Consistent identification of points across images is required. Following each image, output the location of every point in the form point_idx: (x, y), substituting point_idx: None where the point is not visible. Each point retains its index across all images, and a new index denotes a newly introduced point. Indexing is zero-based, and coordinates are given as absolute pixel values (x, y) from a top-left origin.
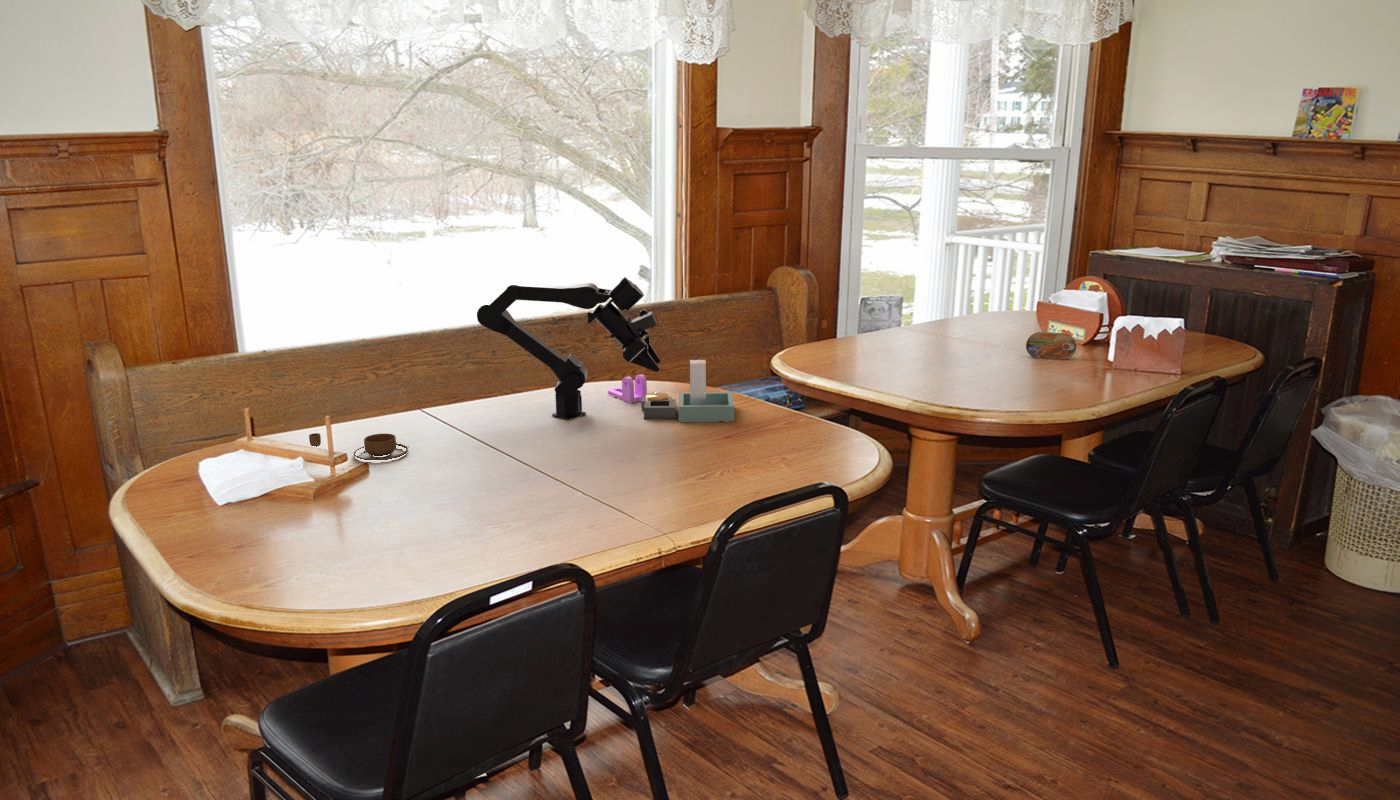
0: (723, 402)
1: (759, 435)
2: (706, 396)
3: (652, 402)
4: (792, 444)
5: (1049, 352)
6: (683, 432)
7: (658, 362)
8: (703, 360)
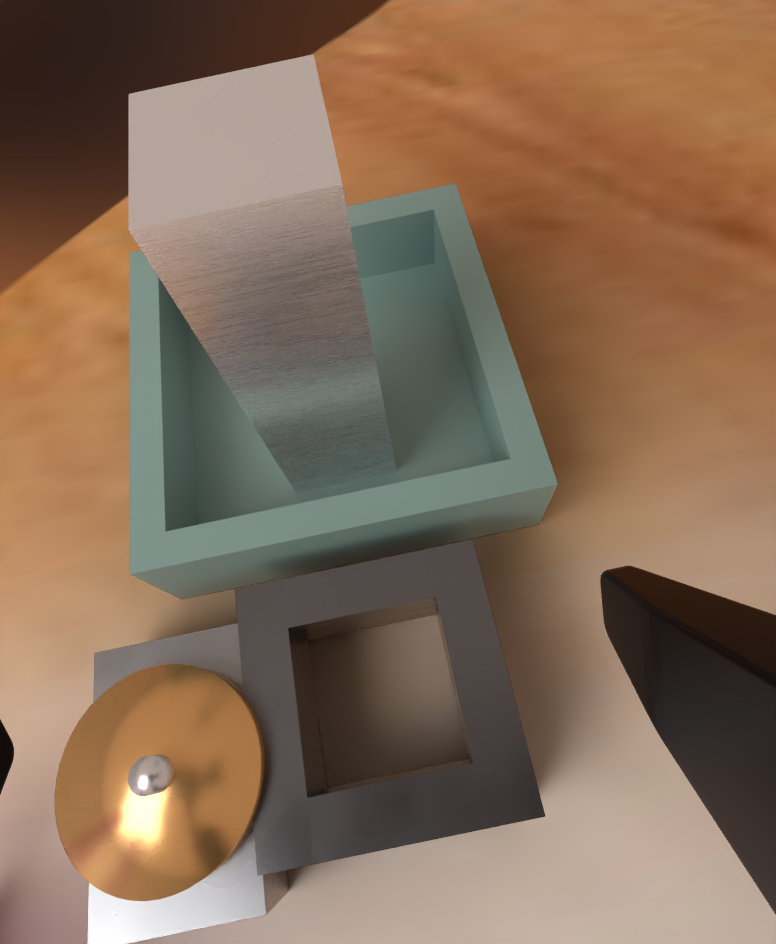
0: (183, 326)
1: (652, 128)
2: (170, 391)
3: (308, 781)
4: (731, 19)
5: None
6: (751, 449)
7: (4, 739)
8: (158, 103)
